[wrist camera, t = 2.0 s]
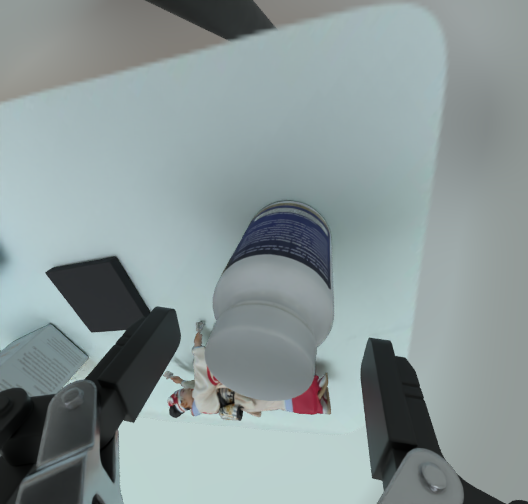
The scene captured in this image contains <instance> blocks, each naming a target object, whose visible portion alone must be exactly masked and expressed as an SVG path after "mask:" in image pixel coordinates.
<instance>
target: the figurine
mask: <svg viewBox="0 0 528 504" xmlns="http://www.w3.org/2000/svg"><path fill="white" fill-rule="evenodd" d="M204 325H205V324H202V322H197V323H196V327H197V328H196V331H198V333H197V334H196V337H195V339H194V343H195V346H194V347H193V348H192V353H193V355H194V361H193V368H194V379H195V380H191V381H185V380H182V379H181V378H180V377H178V376H173V373H171V372H170V371H167V372H166V373H165V374H164V375H163V376H164V377H167V378H166V379H168V378H171V380H173V381H174V382H175V383H180V384H181V386H183V387H184V388H183V389H180V390H177V391H176V392H175V393H174V394H172V395H171V396H170V397H169V398H168V404H169V406H170V409H169V413H170V415H171V416H172V417H175V418H177V417H179V416H180V415H181V414H183V413H184V412H185V411H187V410H190V409H191V414H192V415H193V416H197V415H200V414H202V413H204V414H217V413H219V416H220V417H221V419H223V420H238V421H241V419H242V416H243V411H245V412H247V413H249V414H251V415H254V416H257V417H261V411H271V410H278V409H281V410H284V411H289V412H295V413H299V414H311V415H313V414H317V413H320V414H331V406H330V399H329V392H328V387H327V386H328V375H327V373H324V376H323V377H322V378H321V379H319V377H318V376H317V375H314V379H313V382H312V384H311V386H310V387H309V388H308V390H307V391H305V392H304V393H303V394H301V395H299V396H297V397H295V398H292V399H288V400H282V401H265V400H258V399H253V398H250V397H247V396H244V395H241V394H239V393H237V392H234V391H233V390H231V389H229V388H227V387H226V386H224V385H223V384H222V383H220V382H219V381H218V380H217V379H216V378H215V377H214V376H213V374H212V373H211V372H210V370H209V369H208V366H207V364H206V361H205V355H204V352H205V347H204V346H202V345H201V344H202V341H201V340H202V334H200V333H201V330H202V328H203V326H204Z"/></svg>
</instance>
